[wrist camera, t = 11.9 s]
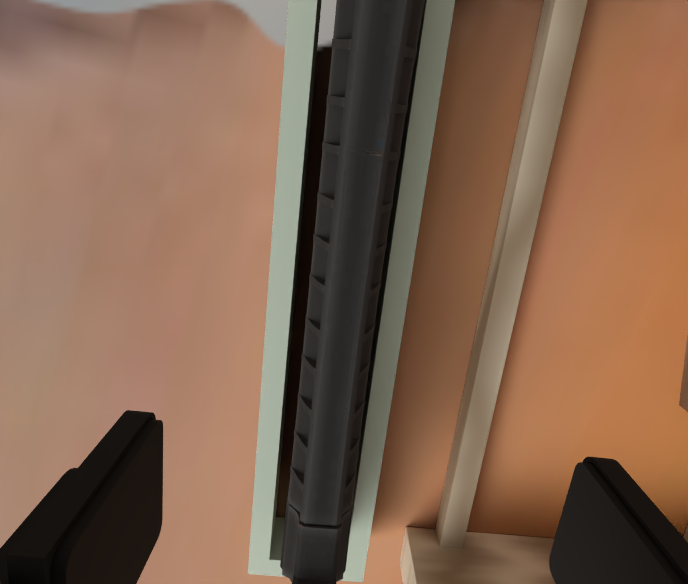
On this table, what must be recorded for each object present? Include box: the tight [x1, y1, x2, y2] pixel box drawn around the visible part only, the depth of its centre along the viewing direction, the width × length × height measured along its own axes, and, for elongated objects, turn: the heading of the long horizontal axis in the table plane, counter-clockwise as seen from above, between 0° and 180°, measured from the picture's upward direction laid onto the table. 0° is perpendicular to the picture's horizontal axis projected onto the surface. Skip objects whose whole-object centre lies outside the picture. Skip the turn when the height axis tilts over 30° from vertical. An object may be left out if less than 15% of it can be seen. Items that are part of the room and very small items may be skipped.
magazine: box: [280, 0, 425, 584], centre depth 23 cm, size 17×3×30 cm
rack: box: [400, 0, 688, 584], centre depth 26 cm, size 21×40×6 cm, turn 174°
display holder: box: [248, 0, 455, 582], centre depth 26 cm, size 7×36×4 cm, turn 174°
